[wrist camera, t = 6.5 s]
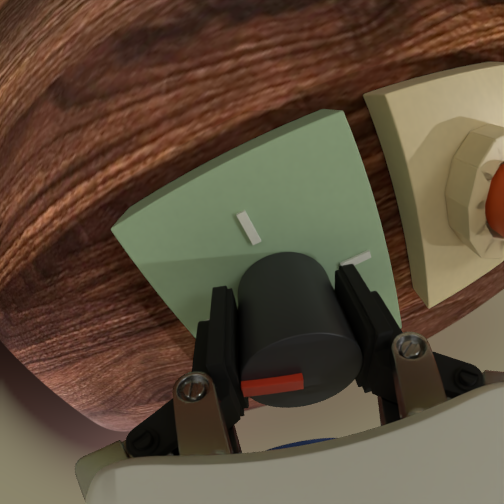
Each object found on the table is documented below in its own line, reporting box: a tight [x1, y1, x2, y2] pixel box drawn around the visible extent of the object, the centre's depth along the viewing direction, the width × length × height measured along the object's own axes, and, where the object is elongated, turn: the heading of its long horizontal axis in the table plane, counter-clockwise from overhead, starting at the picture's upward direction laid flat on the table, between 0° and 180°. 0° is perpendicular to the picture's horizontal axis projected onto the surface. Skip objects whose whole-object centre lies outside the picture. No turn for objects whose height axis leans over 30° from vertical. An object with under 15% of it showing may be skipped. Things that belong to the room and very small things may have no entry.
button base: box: [363, 62, 504, 308], centre depth 11 cm, size 12×10×4 cm
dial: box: [238, 252, 363, 408], centre depth 10 cm, size 4×4×5 cm
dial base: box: [111, 109, 402, 338], centre depth 14 cm, size 12×10×3 cm
